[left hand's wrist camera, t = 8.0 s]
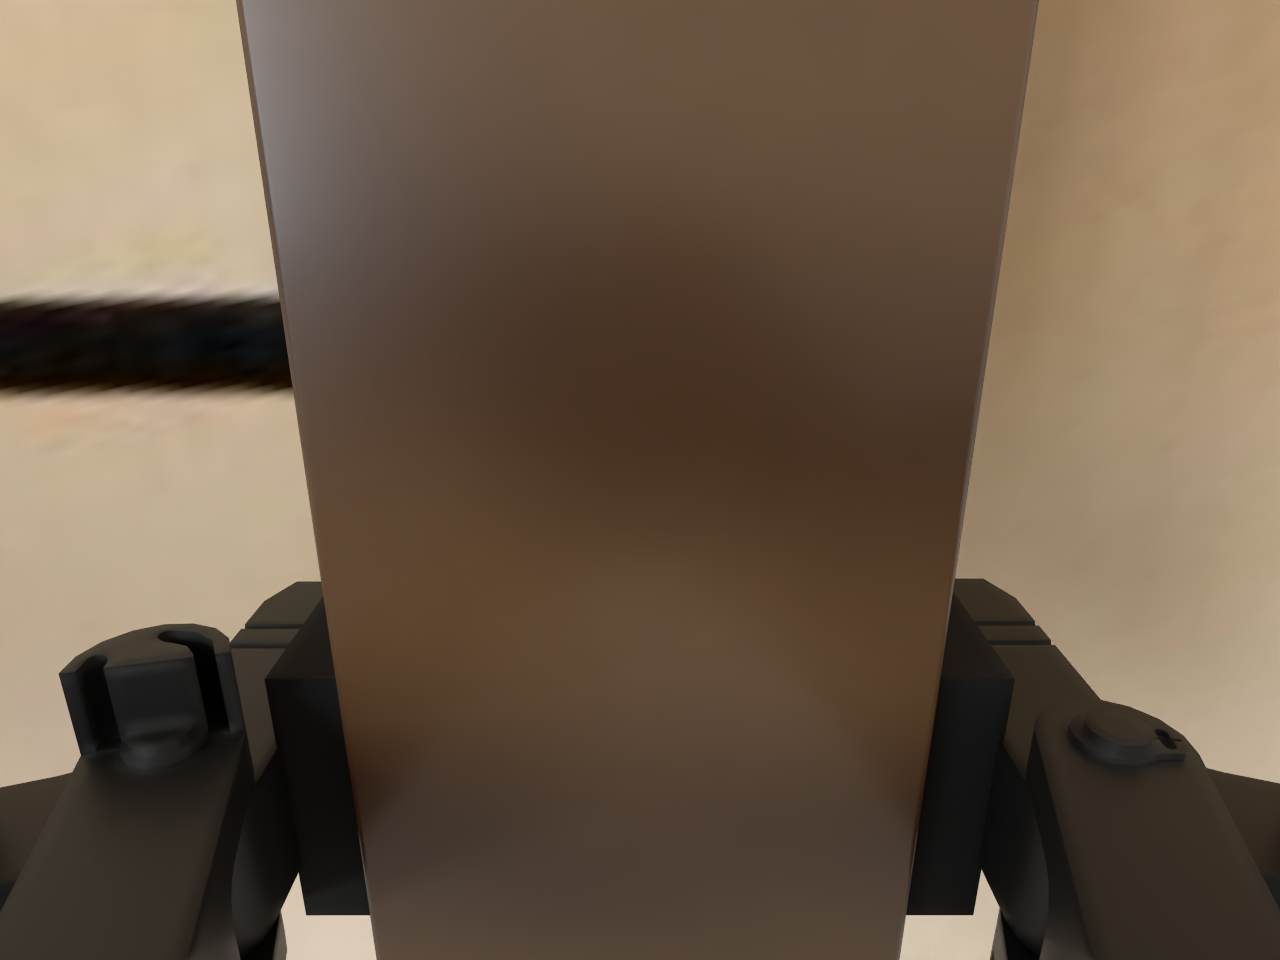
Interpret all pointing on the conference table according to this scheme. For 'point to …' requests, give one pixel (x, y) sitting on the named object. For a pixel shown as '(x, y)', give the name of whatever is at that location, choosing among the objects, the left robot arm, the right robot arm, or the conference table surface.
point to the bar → (637, 446)
